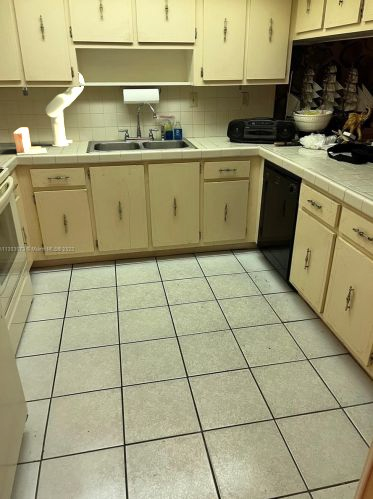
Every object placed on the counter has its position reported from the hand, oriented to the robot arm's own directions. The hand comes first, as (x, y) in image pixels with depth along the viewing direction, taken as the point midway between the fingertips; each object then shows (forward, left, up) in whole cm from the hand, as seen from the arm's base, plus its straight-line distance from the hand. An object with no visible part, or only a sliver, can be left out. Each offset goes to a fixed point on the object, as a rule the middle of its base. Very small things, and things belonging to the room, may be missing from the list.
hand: (25, 95), depth 282 cm
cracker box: (+4, +17, -28) cm, 33 cm away
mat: (+2, +32, -37) cm, 49 cm away
